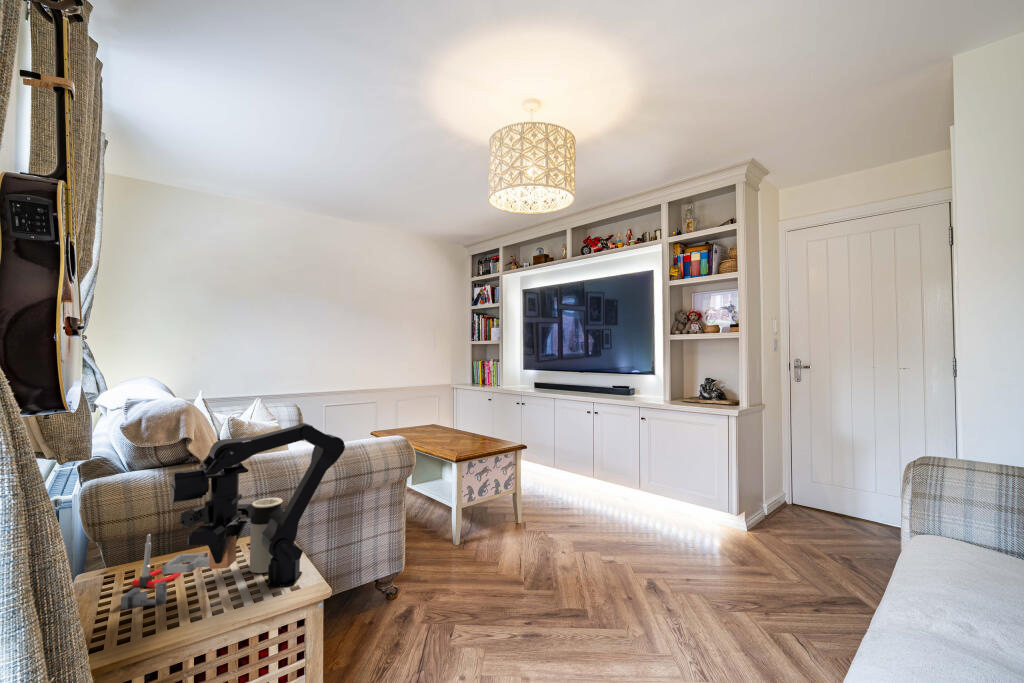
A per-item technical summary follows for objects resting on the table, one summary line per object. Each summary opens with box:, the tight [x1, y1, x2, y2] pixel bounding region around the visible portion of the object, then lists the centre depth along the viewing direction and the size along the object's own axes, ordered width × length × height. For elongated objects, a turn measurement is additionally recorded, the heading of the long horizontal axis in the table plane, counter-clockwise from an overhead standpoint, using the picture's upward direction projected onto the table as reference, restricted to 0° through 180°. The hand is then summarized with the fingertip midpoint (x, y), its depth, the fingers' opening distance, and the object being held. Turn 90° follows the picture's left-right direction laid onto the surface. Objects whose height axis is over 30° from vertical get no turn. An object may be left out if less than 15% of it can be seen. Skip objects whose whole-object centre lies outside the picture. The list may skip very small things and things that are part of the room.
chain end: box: [160, 535, 237, 575], centre depth 106 cm, size 14×6×6 cm, turn 96°
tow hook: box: [131, 533, 182, 589], centre depth 117 cm, size 8×13×9 cm
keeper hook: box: [120, 582, 168, 610], centre depth 105 cm, size 8×4×4 cm, turn 96°
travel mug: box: [249, 497, 284, 574], centre depth 124 cm, size 8×8×18 cm
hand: (223, 559), depth 107 cm, fingers closed on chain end, 4 cm apart
